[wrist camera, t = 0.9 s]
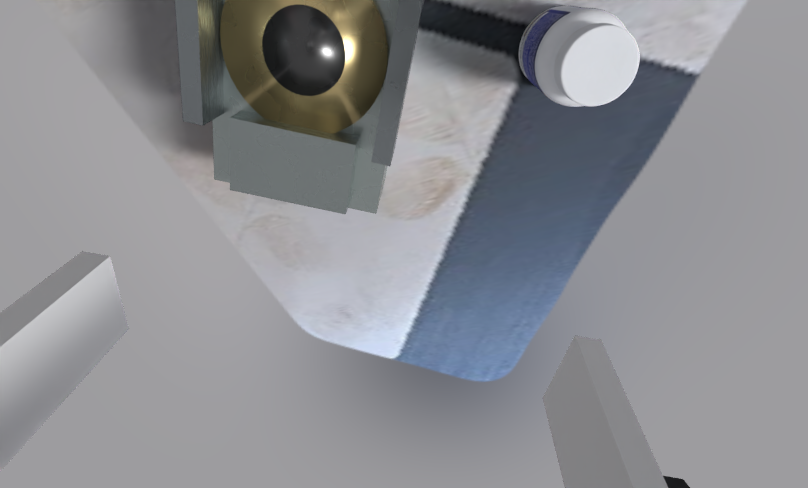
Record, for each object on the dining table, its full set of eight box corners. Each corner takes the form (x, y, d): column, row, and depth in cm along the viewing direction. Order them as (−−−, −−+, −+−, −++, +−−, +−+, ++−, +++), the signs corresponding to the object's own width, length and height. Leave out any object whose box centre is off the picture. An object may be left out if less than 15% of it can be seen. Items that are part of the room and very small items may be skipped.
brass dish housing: (235, -83, 27) (167, -109, 20) (432, -35, 27) (431, -44, 21) (236, 155, 35) (188, 195, 28) (387, 188, 36) (376, 234, 29)
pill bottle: (520, 95, 31) (548, 127, 24) (514, 16, 29) (542, 24, 21) (596, 79, 30) (650, 107, 23) (596, -4, 28) (657, -3, 20)
